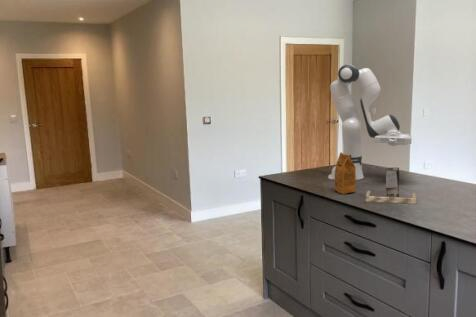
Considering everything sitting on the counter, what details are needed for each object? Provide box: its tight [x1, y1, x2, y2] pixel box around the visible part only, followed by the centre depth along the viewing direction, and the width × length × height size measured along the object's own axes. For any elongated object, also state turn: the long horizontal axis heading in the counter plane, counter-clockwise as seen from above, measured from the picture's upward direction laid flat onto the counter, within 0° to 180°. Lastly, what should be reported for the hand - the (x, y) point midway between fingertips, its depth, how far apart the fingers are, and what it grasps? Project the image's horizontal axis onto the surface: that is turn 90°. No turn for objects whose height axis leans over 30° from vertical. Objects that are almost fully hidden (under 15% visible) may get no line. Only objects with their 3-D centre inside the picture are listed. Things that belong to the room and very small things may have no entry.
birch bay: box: [365, 190, 417, 205], centre depth 218 cm, size 24×13×2 cm, turn 68°
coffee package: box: [333, 151, 357, 195], centre depth 237 cm, size 10×12×22 cm
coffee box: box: [385, 167, 400, 198], centre depth 217 cm, size 9×6×16 cm
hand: (392, 141), depth 239 cm, fingers closed
